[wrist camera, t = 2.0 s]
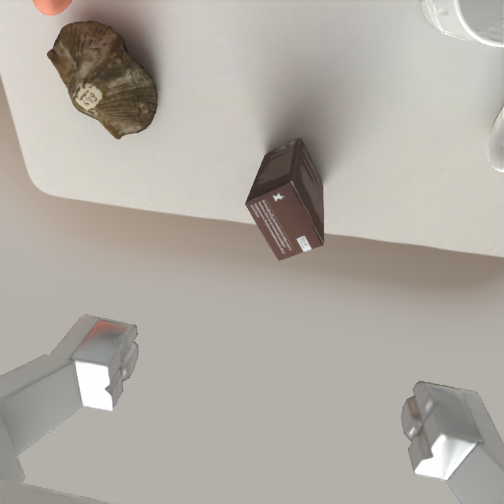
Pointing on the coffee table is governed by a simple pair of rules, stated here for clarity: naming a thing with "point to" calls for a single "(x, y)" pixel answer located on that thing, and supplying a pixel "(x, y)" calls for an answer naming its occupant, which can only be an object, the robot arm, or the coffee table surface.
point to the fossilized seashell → (104, 78)
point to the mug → (497, 143)
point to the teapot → (51, 6)
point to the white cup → (467, 19)
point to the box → (288, 201)
